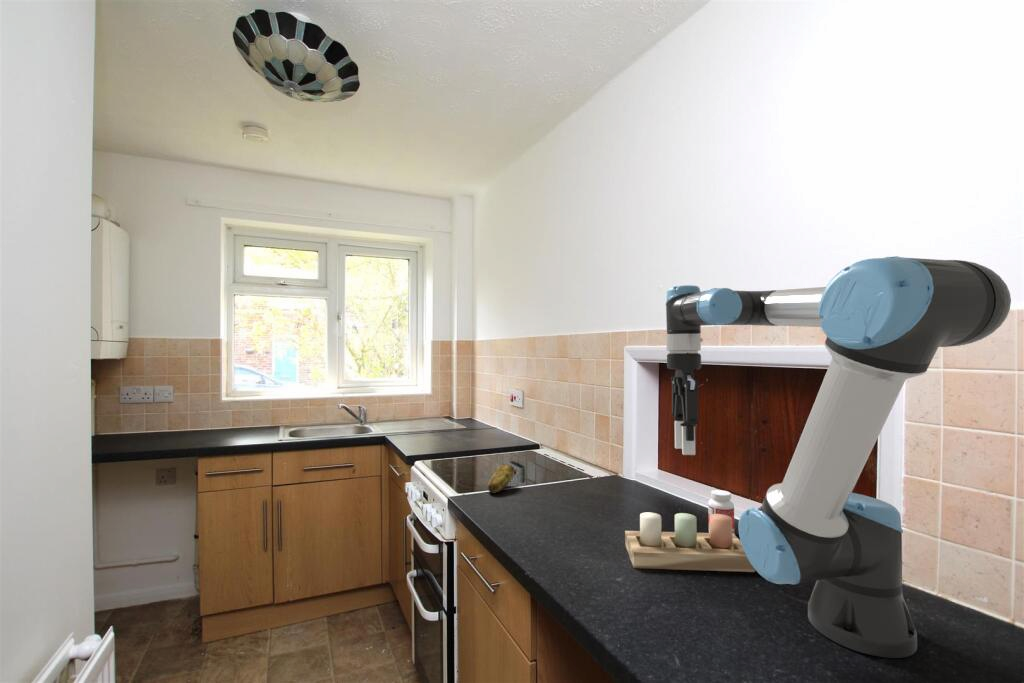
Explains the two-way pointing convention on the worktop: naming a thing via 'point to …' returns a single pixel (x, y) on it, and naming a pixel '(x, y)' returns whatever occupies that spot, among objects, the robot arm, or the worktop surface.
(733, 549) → the board
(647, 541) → the button cream
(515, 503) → the worktop surface
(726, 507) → the pill bottle
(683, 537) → the button green
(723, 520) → the button terracotta
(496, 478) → the potato
